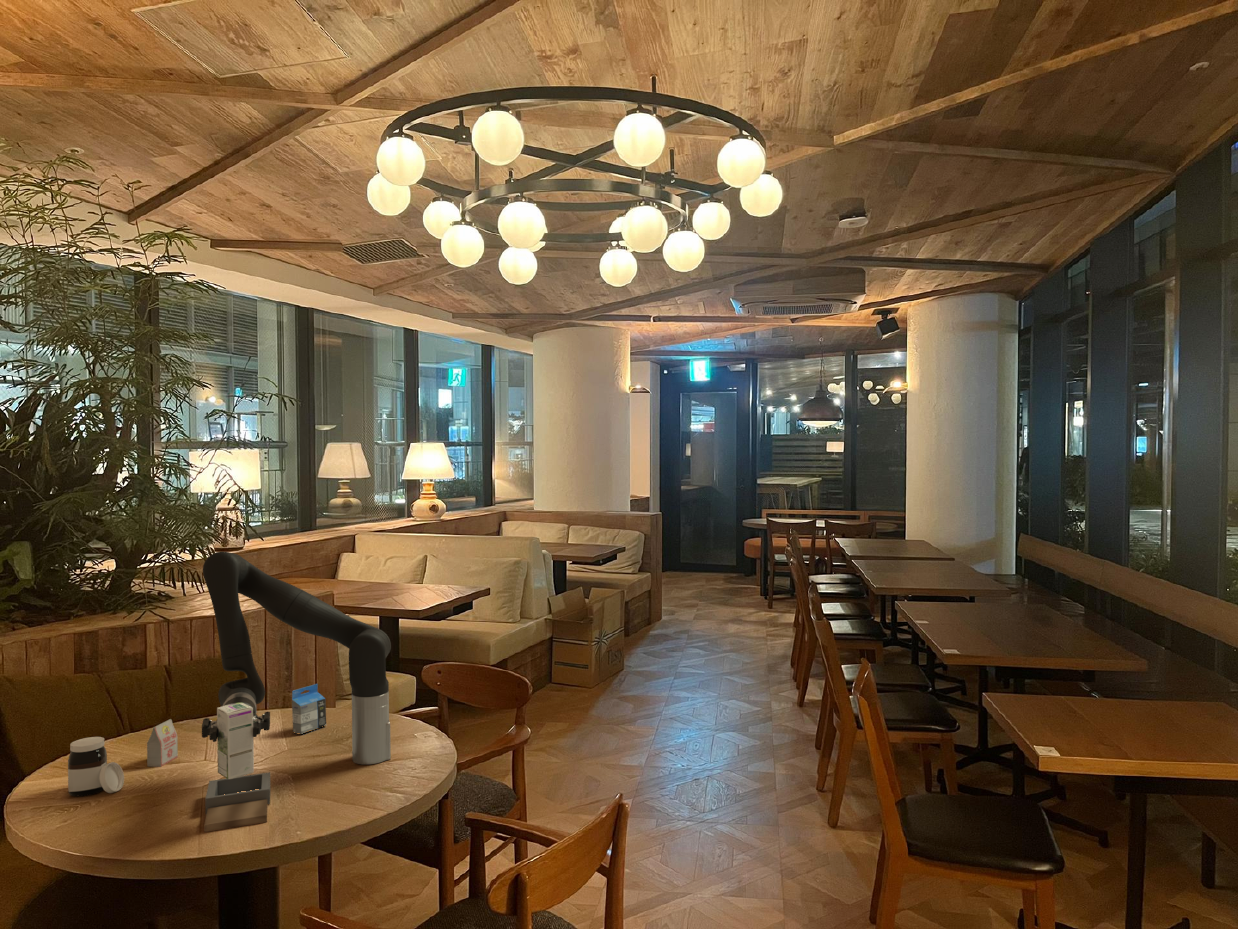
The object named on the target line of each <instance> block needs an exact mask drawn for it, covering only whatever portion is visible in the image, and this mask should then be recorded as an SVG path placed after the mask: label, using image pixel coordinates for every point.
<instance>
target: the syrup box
mask: <svg viewBox="0 0 1238 929" xmlns="http://www.w3.org/2000/svg"><path fill="white" fill-rule="evenodd" d="M216 720H217V741H216V742H217V750H216V751H217V773H218V774H220V775H221V776H222V777H224V779H226V778H227V779H233V778H237V777H241V776H247V775H252V774H253V773H254V772H255V769H254V768H255V765H254V763H255V762H254V761H255V758H254V757H255V752H254V749H255V747H254V737H253V707H251V706H248V705H246V704H244V703H242V702H240V703H233V704H229V705H225V706H220V707H219V706H218V707H216Z"/></svg>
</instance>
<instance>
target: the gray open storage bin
mask: <svg viewBox="0 0 1238 929" xmlns="http://www.w3.org/2000/svg"><path fill="white" fill-rule="evenodd" d="M255 789H259V790H255ZM250 790H252V791H250ZM241 791H246V792H241ZM237 792H239V793H237ZM224 794H225V795H224ZM265 799H267V804H270V805H271V772H270V771H268V772H262V773H261V772H260V773H256V774H247V775H244V776H241V777H237V778H233V779H227V778H219V779H214V780H213V779H212V780H209V782H208V786H207V790H206V794H205V800H204V801H205V805H204V806H205V815H207V810H208V808H213V807H220V806H226V805H233V804H239V803H246V802H252V801H259V800H265Z"/></svg>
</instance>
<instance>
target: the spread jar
mask: <svg viewBox="0 0 1238 929" xmlns="http://www.w3.org/2000/svg"><path fill="white" fill-rule="evenodd" d="M69 745H70V749H69V750H70V753H69V755H68V759H67V776H68V777H67V790H68V795H69V796H72V797H85V796H86V797H87V796H92V795H95V793H96V794H98V793H100V791H101V792H102V791H105V792H106V793H108V794H113V793H116V792H119V791H120V790H121V789H122V788H123V787H124V784H125V775H124V774H125V773H124V771H123V768H122V767H121V765H120V764H119V763H118V762H115V761H111V762H109V763H108V757H107V756H108V755H107V754H108V753H107V748H106V747H105V738H104V737H101V736H91V737H84V738H80V739H77V740H74V741H72V742H71V743H70V744H69Z"/></svg>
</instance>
